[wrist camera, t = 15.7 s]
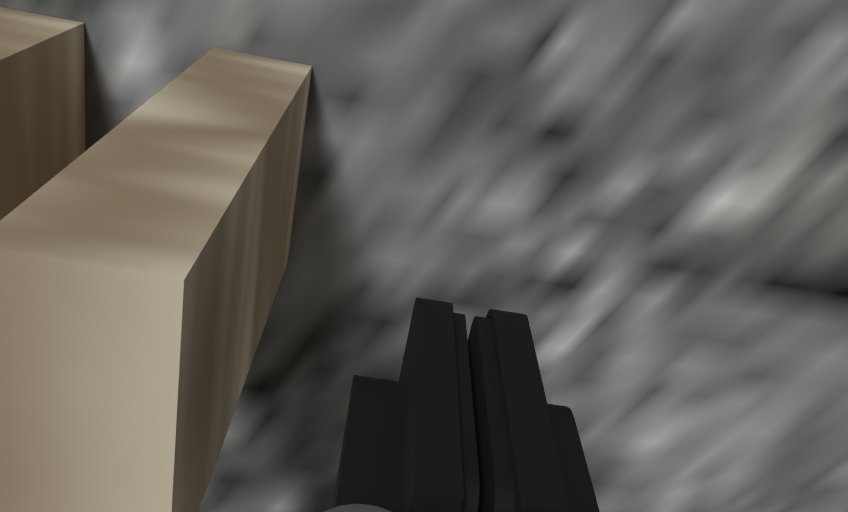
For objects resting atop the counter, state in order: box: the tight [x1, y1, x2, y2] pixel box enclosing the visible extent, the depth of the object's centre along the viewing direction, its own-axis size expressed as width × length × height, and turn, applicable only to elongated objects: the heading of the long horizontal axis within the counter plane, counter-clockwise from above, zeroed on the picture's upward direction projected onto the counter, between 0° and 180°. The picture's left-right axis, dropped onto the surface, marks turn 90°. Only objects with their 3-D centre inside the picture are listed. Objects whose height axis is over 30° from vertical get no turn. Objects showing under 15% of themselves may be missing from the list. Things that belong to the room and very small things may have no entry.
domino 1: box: [0, 47, 312, 512], centre depth 14 cm, size 2×5×10 cm, turn 169°
